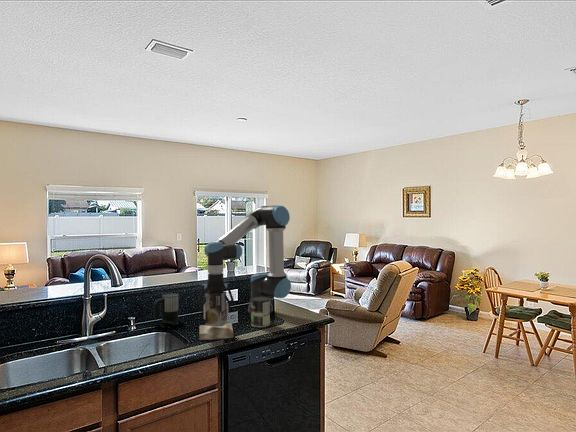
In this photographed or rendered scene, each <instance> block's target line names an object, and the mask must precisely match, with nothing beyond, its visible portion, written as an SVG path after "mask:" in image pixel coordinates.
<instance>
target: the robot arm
mask: <svg viewBox="0 0 576 432" xmlns="http://www.w3.org/2000/svg"><path fill="white" fill-rule="evenodd" d="M290 219H291V218H290V212H289V210H288V209H287V207H286V206H284V205H277V204H276V205H261V206H259V207H257V208H255V209H254V210H251V212H249V213H248V214H247V215H245V217H244V219H243V220H242V221H240V222H239V223H238V224H236V225H235V226H234V227H232V228H231V229H230V230H229V231H227V232H226V233H224V235H222V236H221V237H219V239H217V240H215V241H211V242H209V243H207V244H206V245H205V246H204V254H205V256H206V257H207V283H206V284H201V290H200V293H199V296H198V300H197V305H198V306H200V307H201V308H200V309H201V310H200V311H201V313H203V320H205V302H206V297H205V296H204V298H203V295H204V294H205V293H204V291H205V290H206V288H208V291H207V292H208V293H211V292H221V293H222V292H224V290H223V289H224V287H225V288H226V289H227V292H228V295H229V297H230V299H229V297H228V296H227V294H226V295H225V299H226V307H227V319H228V318H229V311H231V307H232V306H231V305H232V304H233V303H234V302H235V299H234V297H233V293H232V291H231V285H230V282H227V283H225V282H224V261H227V260H236V259H239V258H241V257H242V255H243V247H242V246H241V245H240V244H237V242H238V241H241V239H243V238H244V237H245V236H246V235H247V234H248V233H250V232H251V231H253V230H255V229H257V228H259V227H261V226H265V230H266V231H268V258H269V259H268V261H269V262H268V263H269V271H268V272H266V273H265V272H264V273H256V274H252V275H251V276H250V302H249V304H248V308H247V313H249V314H251V298H253V297H269V298H270V297H271V298H276V299H284V298H286V297H287V296H288V295H289V293H290V292H291V289H292V282H291V280H290V279H289V278H288V277H287V276H288V274H287V273H286V272H285V258H284V257H285V255H284V253H285V251H284V231H285V230H286V227H287V225H288V224H289V222H290ZM271 298H270V299H271ZM202 299H203V300H202ZM273 308H274V307H273V305H272V301H271V300H270V314H272V313H273V311H274V309H273Z"/></svg>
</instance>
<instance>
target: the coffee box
mask: <svg viewBox="0 0 576 432" xmlns="http://www.w3.org/2000/svg"><path fill="white" fill-rule="evenodd" d="M223 291H224V290H223ZM225 295H226V296H227V291H226V290H225V291H224V292H222V293H221V292H211V293H208V291H207V292H205V293H204V298H205V297H206V302H205V304H204V305H205V319H204V320H205V324H204V325H205V326H224V325H225V324H227V322H228V321H227V320H228V318H227V307H226V303H227V301H226V299H225Z"/></svg>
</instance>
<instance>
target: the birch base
mask: <svg viewBox="0 0 576 432" xmlns="http://www.w3.org/2000/svg"><path fill="white" fill-rule="evenodd" d="M198 333H199V334H198V335H199V341H206V340H219V339H221V340H222V339H233V338H234V329H233V324H232V323H231V322H230V323H226V324H225V325H224V326H205V324H201V325H199V332H198Z"/></svg>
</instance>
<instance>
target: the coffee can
mask: <svg viewBox="0 0 576 432" xmlns="http://www.w3.org/2000/svg"><path fill="white" fill-rule="evenodd" d="M250 300H251V313H250V319H251V320H250V321H251V322H250V325H251V326H252V327H254V328H266V326H267V327H269V326H270V325H271V322H270V321H271V320H270V319H271V317H270V316H271V315H270V314H271V313H270V301H271V298H269V297H253V298H251V297H250Z"/></svg>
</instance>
